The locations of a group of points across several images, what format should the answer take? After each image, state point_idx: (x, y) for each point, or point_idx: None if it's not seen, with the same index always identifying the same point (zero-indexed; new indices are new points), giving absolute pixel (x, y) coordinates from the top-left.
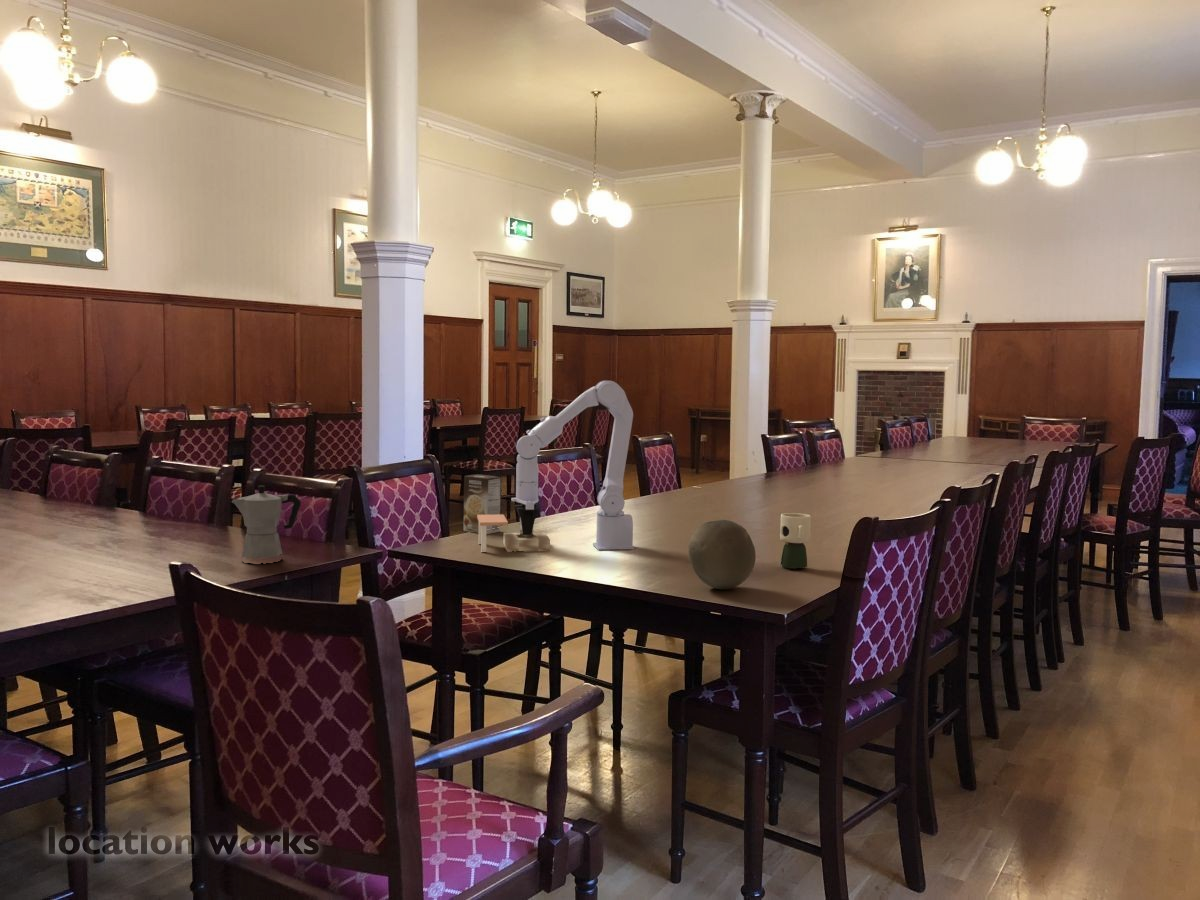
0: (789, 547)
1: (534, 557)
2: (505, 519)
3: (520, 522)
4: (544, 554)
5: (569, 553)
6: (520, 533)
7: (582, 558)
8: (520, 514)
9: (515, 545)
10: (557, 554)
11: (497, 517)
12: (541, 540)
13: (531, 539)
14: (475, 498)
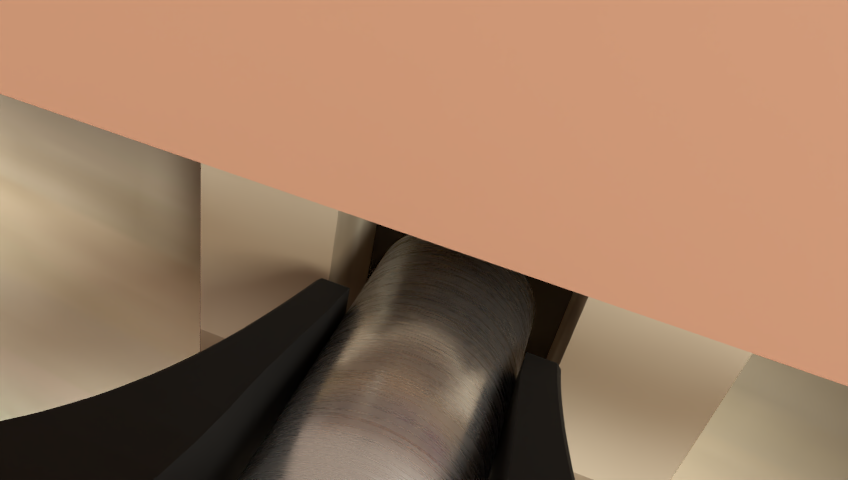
0: None
1: (11, 112)
2: (237, 156)
3: (352, 390)
4: (131, 241)
5: None
6: (410, 283)
7: (5, 376)
8: (31, 420)
9: None
10: (128, 320)
11: (600, 98)
12: (206, 346)
13: (218, 278)
14: None
